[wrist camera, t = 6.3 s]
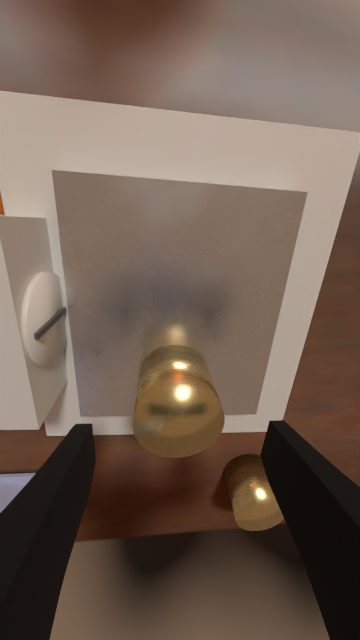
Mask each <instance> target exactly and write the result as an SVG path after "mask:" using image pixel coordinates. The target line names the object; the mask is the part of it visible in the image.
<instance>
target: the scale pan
mask: <svg viewBox="0 0 360 640" xmlns="http://www.w3.org/2000/svg"><path fill="white" fill-rule="evenodd" d="M52 177H53V186H54V194H55V203H56V212H57V220H58V229H59V238H60V246H61V255H62V263H63V272H64V281H65V289H66V298H67V307H68V315H69V324H70V332H71V341H72V350H73V358H74V367H75V376H76V384H77V393H78V402H79V410H80V417H84V416H134V410H135V402H136V393H137V384H138V375H139V369H140V366H141V364H142V362H143V360H144V359H145V358H146V357H147V356H148V355H149V354H150V353H151V352H153V351H154V350H156V349H158V348H161V347H164V346H168V345H183V346H187V347H190V348H192V349H194V350H195V351H197V352H198V353H199V354H201V356H202V357H203V358H204V360H205V361H206V363H207V366H208V369H209V372H210V375H211V377H212V380H213V383H214V386H215V389H216V392H217V395H218V397H219V400H220V403H221V406H222V409H223V412H224V415H255V414H256V413H257V409H258V404H259V400H260V396H261V391H262V387H263V383H264V378H265V374H266V370H267V365H268V361H269V357H270V353H271V348H272V344H273V340H274V335H275V331H276V327H277V322H278V318H279V314H280V309H281V305H282V301H283V297H284V292H285V288H286V284H287V279H288V275H289V271H290V266H291V262H292V258H293V253H294V249H295V245H296V240H297V236H298V232H299V228H300V223H301V219H302V215H303V210H304V206H305V202H306V197H307V193H308V192H302V191H291V190H279V189H268V188H256V187H245V186H233V185H222V184H210V183H198V182H187V181H175V180H164V179H152V178H141V177H129V176H118V175H106V174H95V173H83V172H71V171H60V170H52Z"/></svg>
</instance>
